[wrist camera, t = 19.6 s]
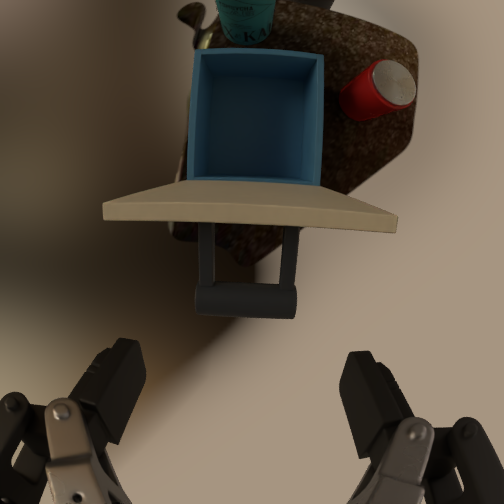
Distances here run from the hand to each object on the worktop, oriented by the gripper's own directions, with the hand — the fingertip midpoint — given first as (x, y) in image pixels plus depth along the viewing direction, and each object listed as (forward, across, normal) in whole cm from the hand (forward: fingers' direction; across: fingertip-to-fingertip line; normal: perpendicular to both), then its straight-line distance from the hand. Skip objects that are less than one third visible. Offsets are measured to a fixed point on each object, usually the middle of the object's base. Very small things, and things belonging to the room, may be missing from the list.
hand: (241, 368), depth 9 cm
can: (+27, -13, -17) cm, 35 cm away
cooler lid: (+10, 0, -6) cm, 12 cm away
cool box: (+27, 0, -12) cm, 30 cm away
